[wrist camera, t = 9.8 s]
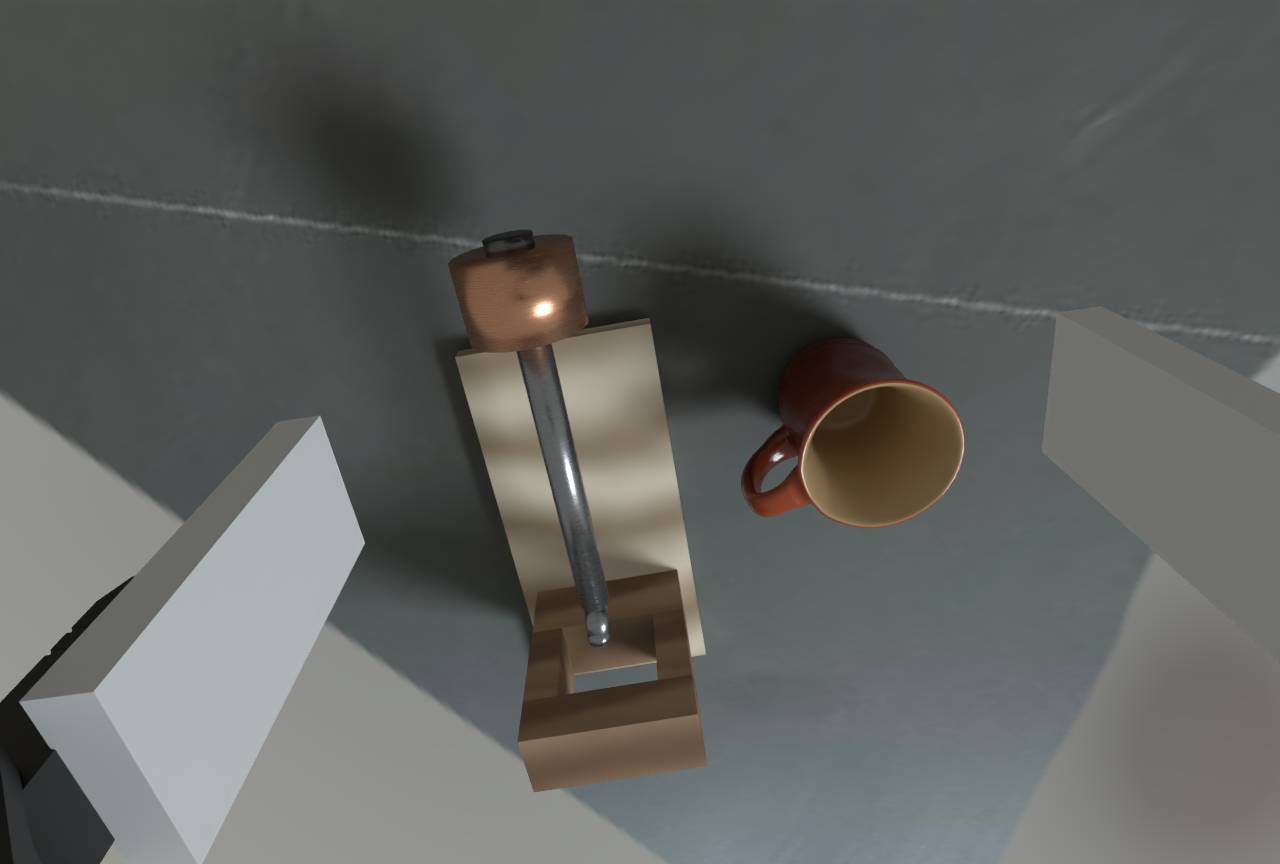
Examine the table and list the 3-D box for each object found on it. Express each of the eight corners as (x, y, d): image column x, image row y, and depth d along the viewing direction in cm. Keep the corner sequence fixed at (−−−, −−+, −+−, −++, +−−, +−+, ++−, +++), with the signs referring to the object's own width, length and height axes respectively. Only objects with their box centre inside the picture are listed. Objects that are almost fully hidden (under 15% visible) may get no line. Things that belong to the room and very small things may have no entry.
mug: (864, 293, 47) (928, 348, 37) (918, 404, 50) (989, 480, 41) (694, 391, 49) (715, 465, 40) (757, 490, 52) (790, 580, 43)
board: (458, 350, 47) (454, 357, 46) (649, 317, 47) (650, 323, 46) (549, 667, 58) (548, 679, 57) (703, 643, 58) (705, 654, 57)
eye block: (537, 592, 54) (517, 742, 42) (677, 569, 53) (697, 714, 41) (549, 635, 55) (533, 792, 43) (685, 614, 55) (707, 765, 43)
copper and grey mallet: (456, 235, 39) (432, 261, 33) (572, 214, 38) (566, 237, 33) (556, 606, 49) (549, 672, 43) (647, 591, 49) (653, 656, 43)
